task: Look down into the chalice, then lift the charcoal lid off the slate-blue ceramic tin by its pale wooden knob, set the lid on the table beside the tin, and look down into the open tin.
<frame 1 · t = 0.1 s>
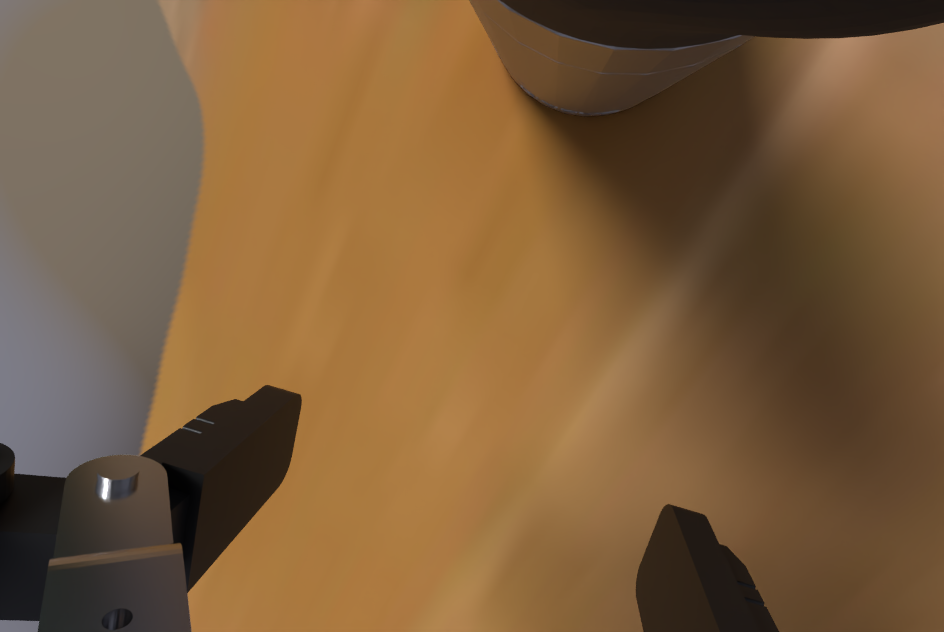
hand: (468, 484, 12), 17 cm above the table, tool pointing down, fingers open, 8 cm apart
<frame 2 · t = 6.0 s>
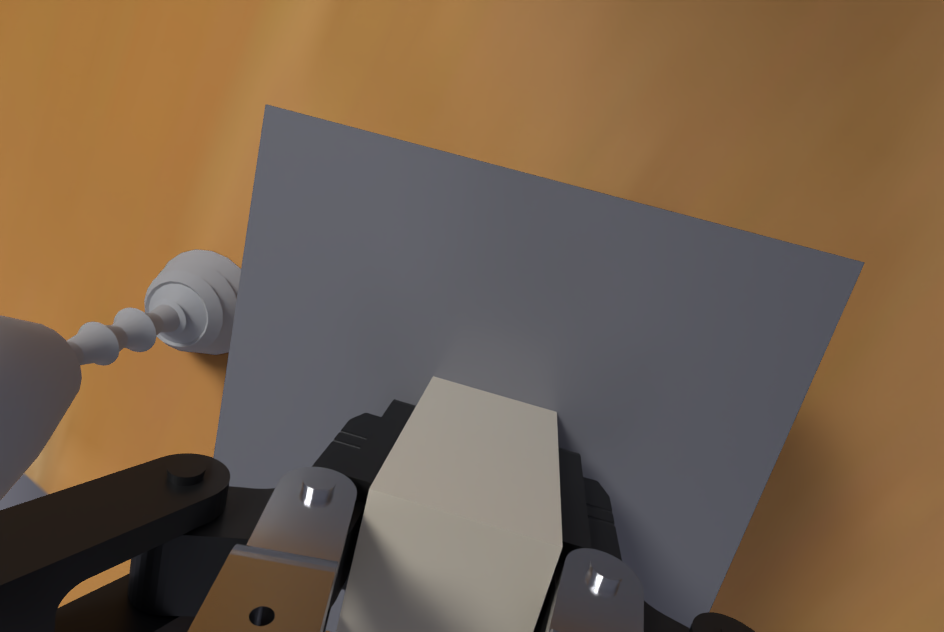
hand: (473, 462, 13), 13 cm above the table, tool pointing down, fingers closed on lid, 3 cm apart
lid: (482, 432, 15), point 11 cm above the table, touching gripper, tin
chalice: (208, 302, 27), on the table
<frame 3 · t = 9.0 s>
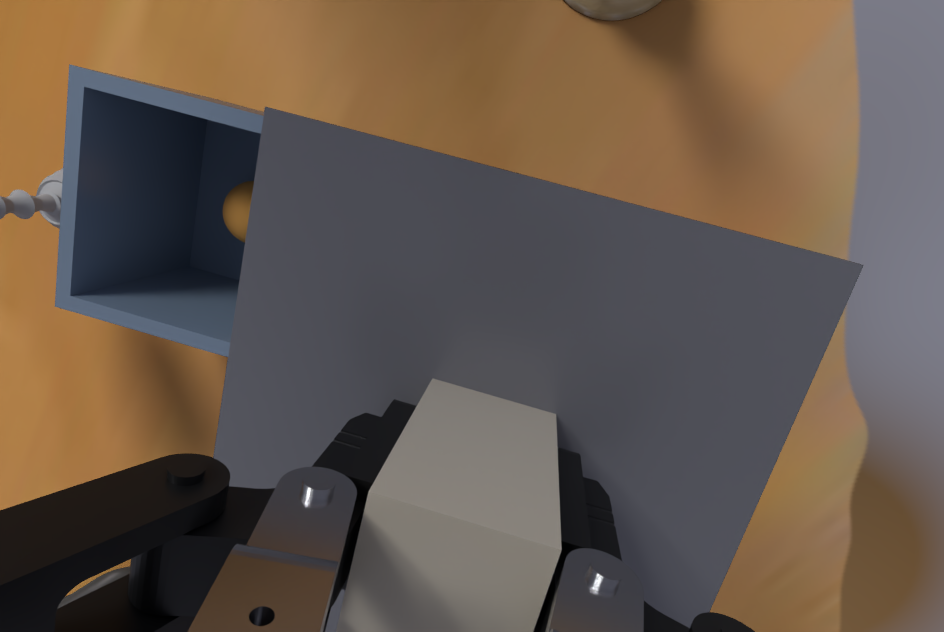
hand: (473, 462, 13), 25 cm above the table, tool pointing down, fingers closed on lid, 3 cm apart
ball: (257, 213, 36), point 3 cm above the table, touching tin
lid: (482, 433, 15), point 23 cm above the table, touching gripper
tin: (277, 210, 38), on the table, touching ball
chalice: (85, 201, 40), on the table
when the fingers open (4 cm above the table, at t = 12.1 s): lid drops 2 cm, point 1 cm above the table.
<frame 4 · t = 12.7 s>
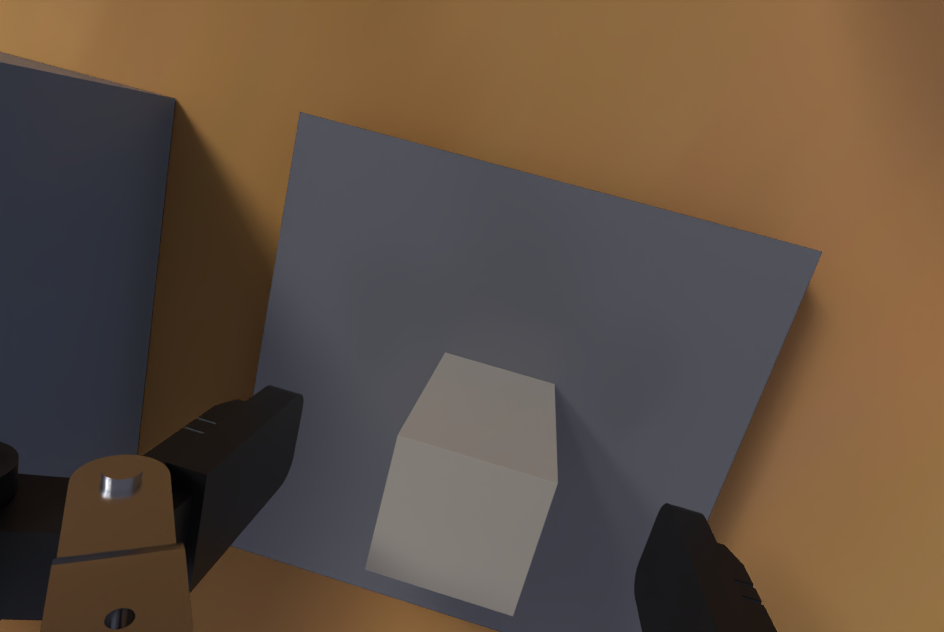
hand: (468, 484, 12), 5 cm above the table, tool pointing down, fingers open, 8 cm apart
lid: (488, 404, 16), point 1 cm above the table
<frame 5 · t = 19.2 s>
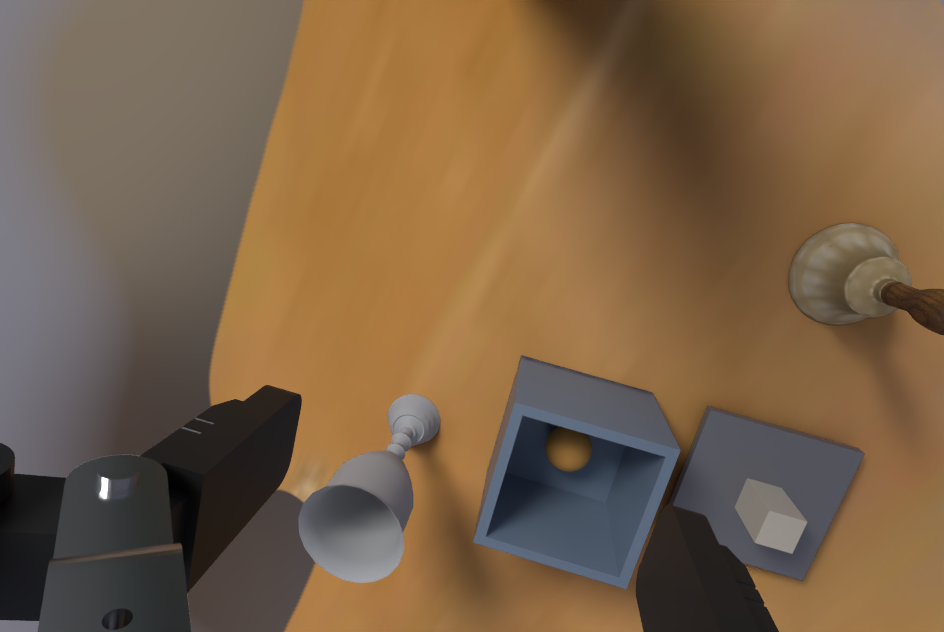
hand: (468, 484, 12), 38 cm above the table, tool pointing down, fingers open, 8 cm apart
ball: (568, 447, 50), point 3 cm above the table, touching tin
lid: (753, 491, 50), point 1 cm above the table
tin: (566, 433, 52), on the table, touching ball
chalice: (414, 418, 54), on the table
hand bell: (841, 274, 46), on the table
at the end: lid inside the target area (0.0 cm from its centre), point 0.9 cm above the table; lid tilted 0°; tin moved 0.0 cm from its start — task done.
